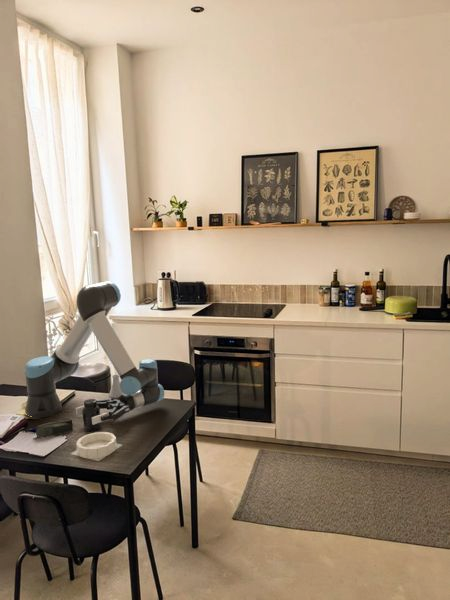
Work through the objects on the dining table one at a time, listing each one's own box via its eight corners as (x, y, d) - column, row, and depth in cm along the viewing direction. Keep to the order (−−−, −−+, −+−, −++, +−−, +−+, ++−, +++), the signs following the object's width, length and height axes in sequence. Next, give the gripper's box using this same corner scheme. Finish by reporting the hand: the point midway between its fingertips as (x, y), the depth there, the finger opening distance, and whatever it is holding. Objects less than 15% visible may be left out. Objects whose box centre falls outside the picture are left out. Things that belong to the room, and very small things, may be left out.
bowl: (69, 453, 168) (68, 444, 167) (95, 438, 179) (95, 429, 179) (98, 461, 161) (97, 451, 161) (123, 444, 173) (122, 435, 173)
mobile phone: (71, 417, 189) (31, 425, 182) (73, 420, 186) (32, 428, 179) (72, 429, 190) (32, 437, 183) (73, 432, 187) (33, 440, 180)
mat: (70, 454, 168) (70, 453, 168) (95, 439, 179) (95, 438, 179) (98, 462, 162) (98, 461, 162) (122, 445, 173) (122, 444, 173)
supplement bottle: (94, 424, 193) (92, 396, 191) (105, 428, 189) (102, 400, 187) (80, 430, 188) (77, 401, 186) (90, 434, 183) (88, 405, 182)
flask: (116, 399, 220) (114, 378, 219) (106, 396, 225) (104, 376, 223) (127, 394, 226) (126, 374, 224) (118, 391, 230) (116, 372, 229)
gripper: (148, 417, 191) (100, 434, 177) (116, 402, 209) (70, 416, 195) (146, 400, 190) (98, 415, 175) (115, 386, 208) (69, 399, 193)
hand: (84, 416), depth 185 cm, fingers open, 13 cm apart
